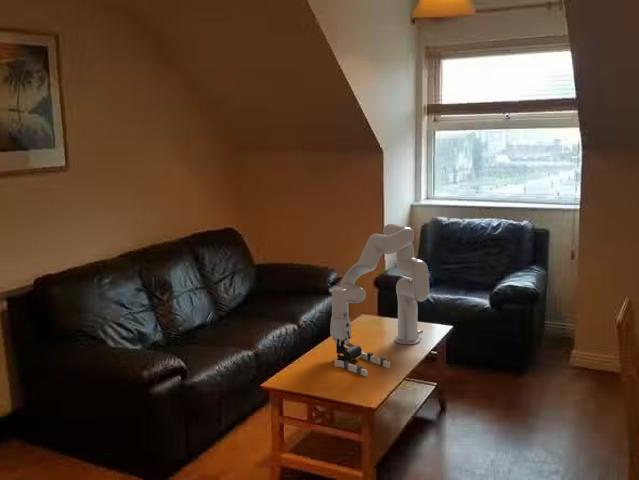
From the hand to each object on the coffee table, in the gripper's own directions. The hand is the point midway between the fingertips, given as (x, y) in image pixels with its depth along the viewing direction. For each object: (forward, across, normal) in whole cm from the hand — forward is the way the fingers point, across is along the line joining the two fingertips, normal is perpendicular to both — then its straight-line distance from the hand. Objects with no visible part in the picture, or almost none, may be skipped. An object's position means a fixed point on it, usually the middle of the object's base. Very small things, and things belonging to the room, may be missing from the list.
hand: (340, 353), depth 308 cm
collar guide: (+3, -14, -1) cm, 14 cm away
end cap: (+2, -5, 0) cm, 6 cm away
